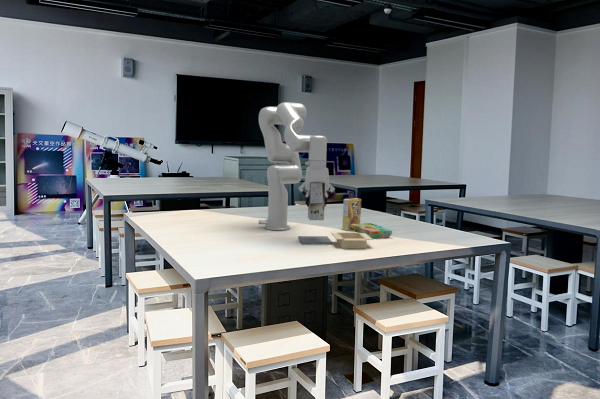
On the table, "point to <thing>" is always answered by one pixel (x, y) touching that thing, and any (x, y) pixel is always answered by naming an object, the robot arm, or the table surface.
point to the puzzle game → (372, 230)
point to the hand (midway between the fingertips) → (316, 205)
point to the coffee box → (316, 201)
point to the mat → (315, 240)
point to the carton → (351, 239)
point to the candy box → (351, 213)
